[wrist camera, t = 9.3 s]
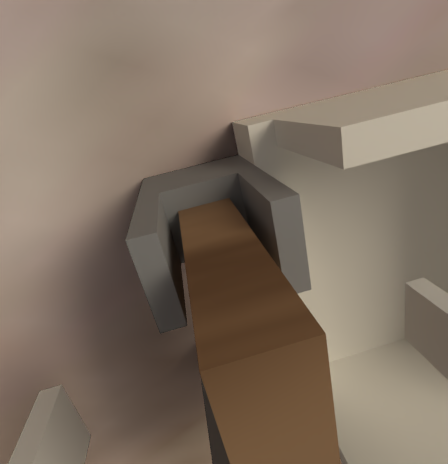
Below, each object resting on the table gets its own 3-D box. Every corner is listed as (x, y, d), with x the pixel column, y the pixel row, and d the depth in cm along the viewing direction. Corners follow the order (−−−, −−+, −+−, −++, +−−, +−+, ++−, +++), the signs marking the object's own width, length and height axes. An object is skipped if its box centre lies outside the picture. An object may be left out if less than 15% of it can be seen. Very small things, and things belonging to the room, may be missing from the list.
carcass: (132, 146, 14) (99, 188, 7) (469, 64, 16) (741, 26, 8) (213, 396, 21) (241, 557, 13) (448, 323, 22) (593, 432, 14)
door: (178, 211, 12) (199, 372, 5) (229, 197, 12) (326, 333, 5) (239, 422, 17) (298, 668, 9) (275, 410, 17) (361, 644, 10)
